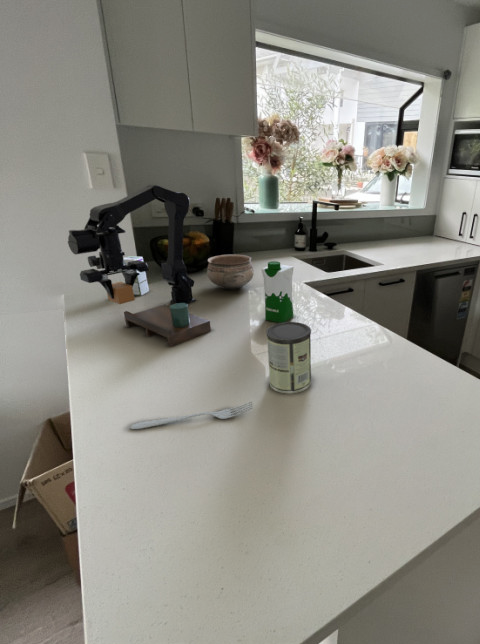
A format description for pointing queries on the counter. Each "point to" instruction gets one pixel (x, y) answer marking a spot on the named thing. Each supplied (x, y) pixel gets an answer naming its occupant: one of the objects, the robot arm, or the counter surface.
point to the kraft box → (122, 293)
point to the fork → (220, 414)
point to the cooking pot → (230, 271)
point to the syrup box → (138, 278)
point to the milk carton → (278, 292)
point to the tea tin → (180, 315)
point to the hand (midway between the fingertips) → (121, 296)
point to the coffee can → (289, 357)
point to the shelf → (167, 324)
